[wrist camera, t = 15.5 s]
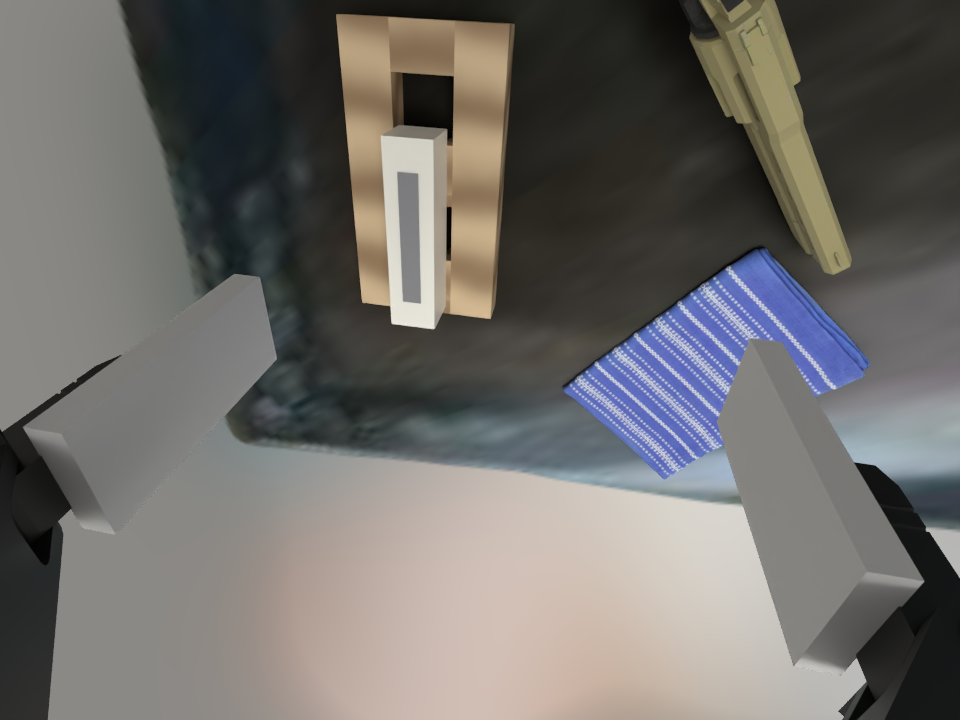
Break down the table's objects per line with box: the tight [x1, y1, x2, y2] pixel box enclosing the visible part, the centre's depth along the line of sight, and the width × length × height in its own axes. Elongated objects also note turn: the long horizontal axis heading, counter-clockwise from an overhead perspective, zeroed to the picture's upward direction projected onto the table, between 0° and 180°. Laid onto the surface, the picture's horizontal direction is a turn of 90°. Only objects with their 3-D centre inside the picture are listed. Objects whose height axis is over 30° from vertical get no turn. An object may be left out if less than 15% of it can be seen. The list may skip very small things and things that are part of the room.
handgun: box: [679, 0, 852, 275], centre depth 36 cm, size 4×30×16 cm, turn 39°
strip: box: [381, 125, 447, 329], centre depth 45 cm, size 16×4×7 cm, turn 177°
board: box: [336, 14, 515, 319], centre depth 46 cm, size 24×13×3 cm, turn 177°
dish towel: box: [563, 248, 870, 479], centre depth 52 cm, size 17×24×3 cm
